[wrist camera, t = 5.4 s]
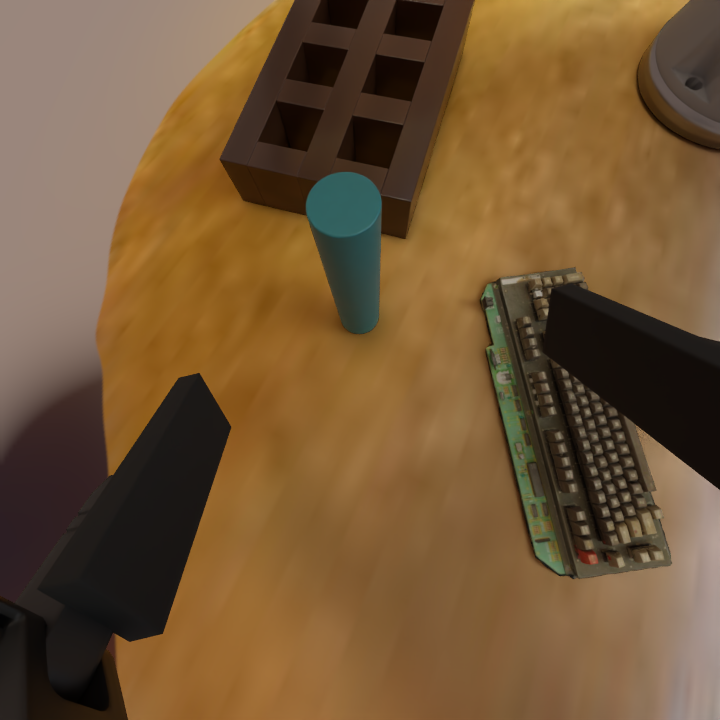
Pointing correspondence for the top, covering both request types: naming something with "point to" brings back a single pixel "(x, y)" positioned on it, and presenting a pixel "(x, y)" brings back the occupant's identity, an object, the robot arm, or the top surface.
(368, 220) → the peg
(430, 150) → the peg board
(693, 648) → the top surface
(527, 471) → the keyboard
